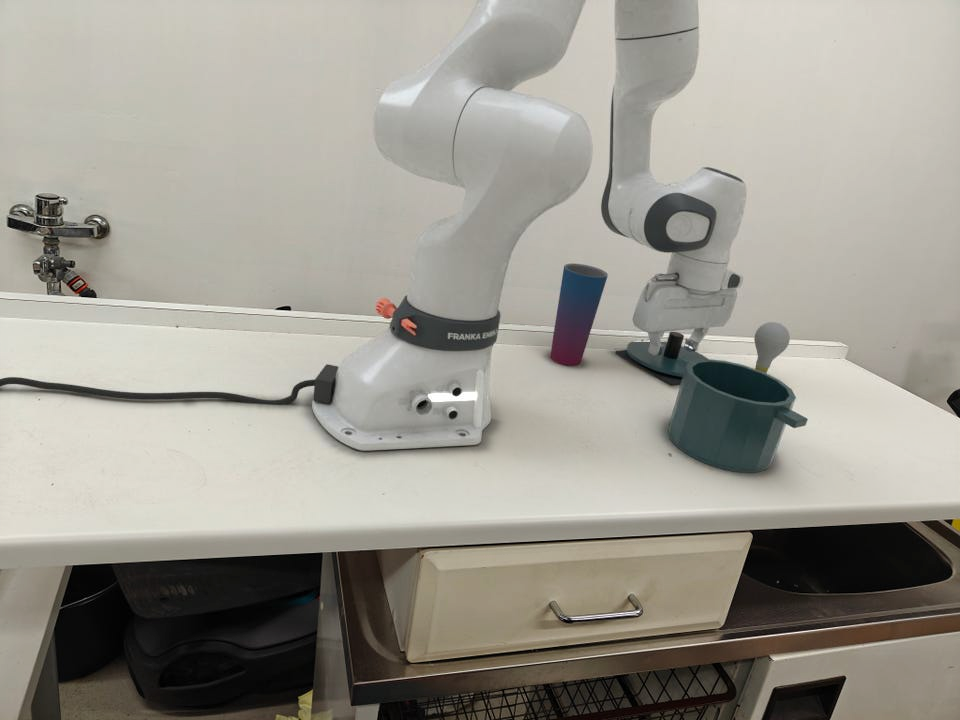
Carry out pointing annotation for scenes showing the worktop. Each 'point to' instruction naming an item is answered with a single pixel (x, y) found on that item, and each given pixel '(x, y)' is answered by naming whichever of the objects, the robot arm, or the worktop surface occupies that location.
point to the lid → (663, 355)
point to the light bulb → (770, 344)
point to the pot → (731, 414)
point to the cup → (576, 311)
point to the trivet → (664, 377)
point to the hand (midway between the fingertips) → (672, 352)
